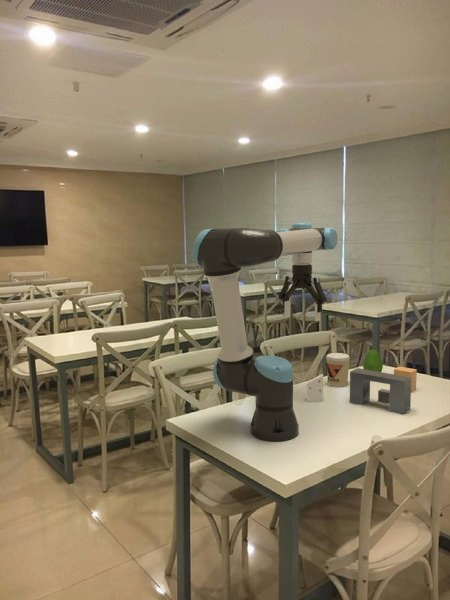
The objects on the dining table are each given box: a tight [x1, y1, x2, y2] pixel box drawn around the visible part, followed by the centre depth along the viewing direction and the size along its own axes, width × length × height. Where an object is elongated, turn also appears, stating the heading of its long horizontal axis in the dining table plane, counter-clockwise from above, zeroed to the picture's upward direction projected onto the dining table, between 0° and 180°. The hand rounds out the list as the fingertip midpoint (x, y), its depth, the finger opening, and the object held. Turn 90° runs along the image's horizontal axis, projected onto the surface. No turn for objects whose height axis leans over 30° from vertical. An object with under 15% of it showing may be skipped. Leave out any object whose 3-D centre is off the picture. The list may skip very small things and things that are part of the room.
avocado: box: [362, 349, 384, 372], centre depth 214 cm, size 8×8×12 cm
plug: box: [377, 366, 418, 405], centre depth 190 cm, size 22×7×8 cm, turn 138°
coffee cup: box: [325, 352, 350, 388], centre depth 205 cm, size 9×9×12 cm
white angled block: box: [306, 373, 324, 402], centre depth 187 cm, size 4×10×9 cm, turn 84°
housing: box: [349, 367, 412, 415], centre depth 179 cm, size 6×20×12 cm, turn 49°
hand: (302, 319), depth 194 cm, fingers open, 13 cm apart
